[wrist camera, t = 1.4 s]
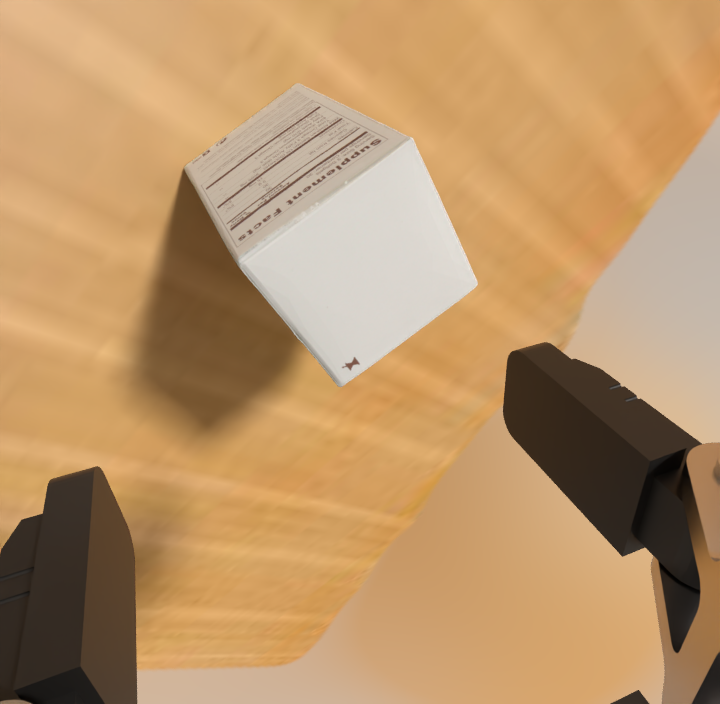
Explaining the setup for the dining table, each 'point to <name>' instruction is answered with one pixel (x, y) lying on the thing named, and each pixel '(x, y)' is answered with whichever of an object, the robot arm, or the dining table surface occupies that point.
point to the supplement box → (334, 227)
